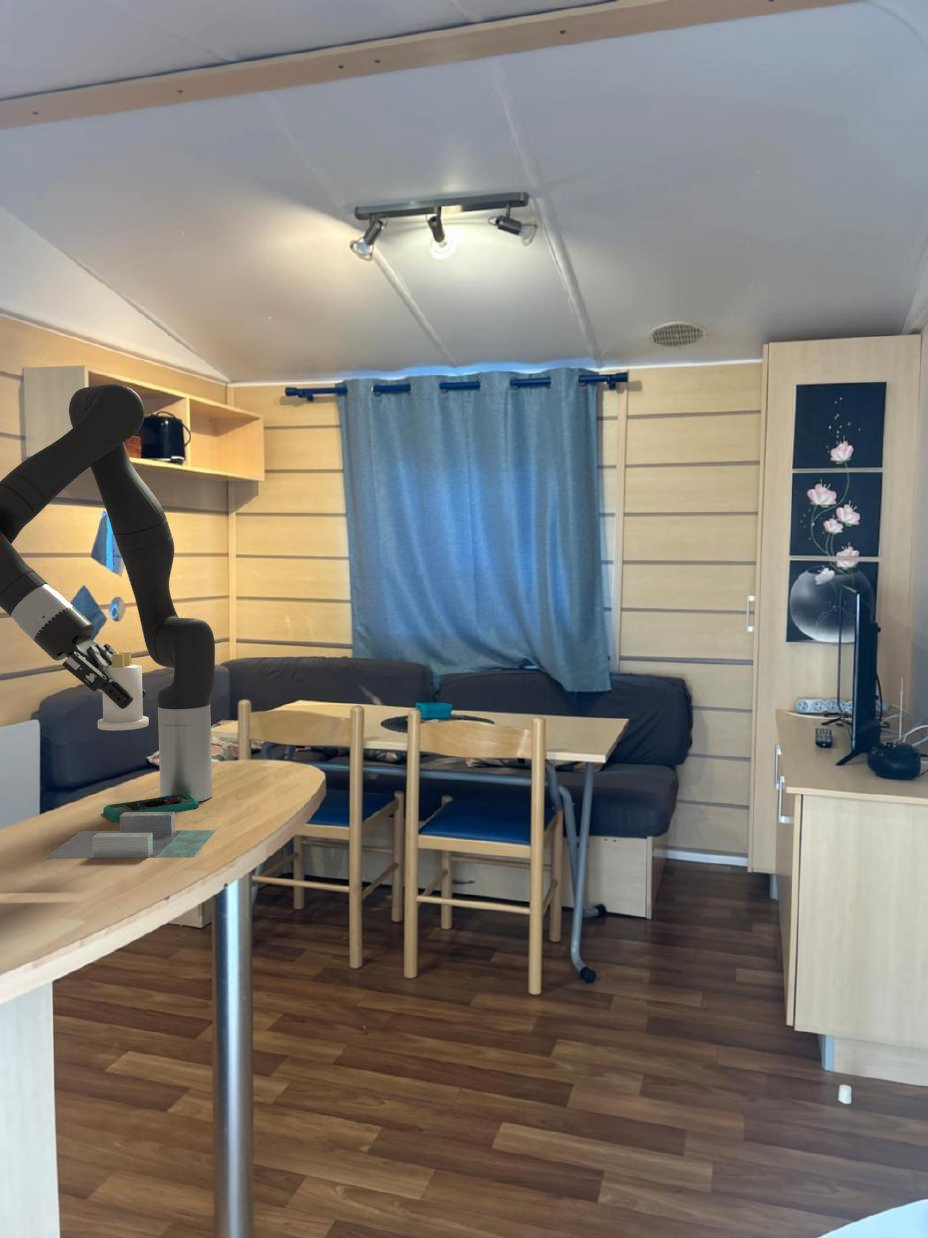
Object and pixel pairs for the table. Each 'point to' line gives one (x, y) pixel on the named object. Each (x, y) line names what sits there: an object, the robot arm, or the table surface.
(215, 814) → the table surface
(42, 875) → the table surface
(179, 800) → the digital multimeter
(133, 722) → the plug
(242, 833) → the table surface
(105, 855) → the housing
